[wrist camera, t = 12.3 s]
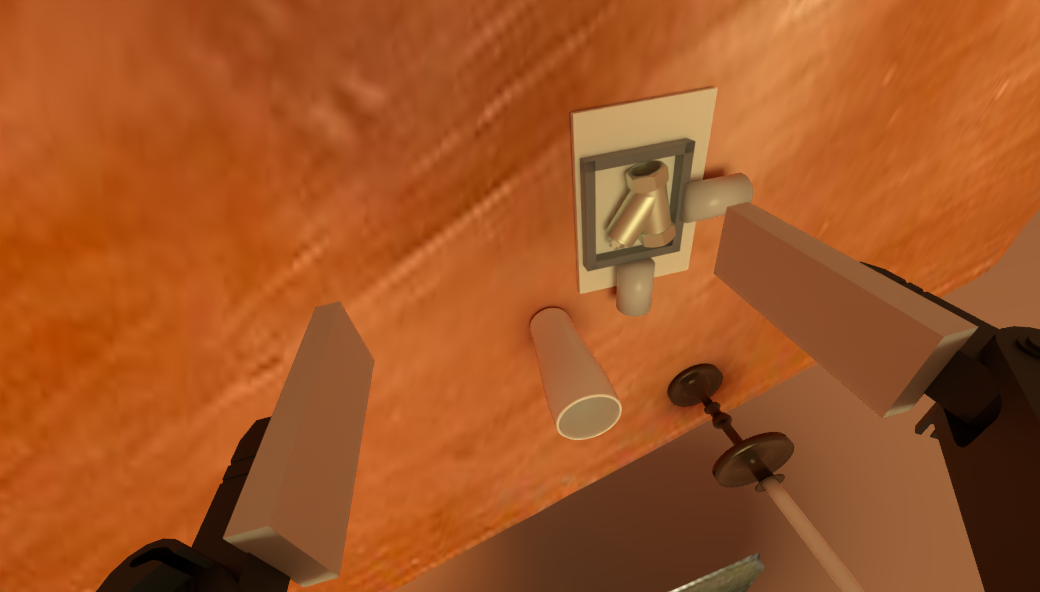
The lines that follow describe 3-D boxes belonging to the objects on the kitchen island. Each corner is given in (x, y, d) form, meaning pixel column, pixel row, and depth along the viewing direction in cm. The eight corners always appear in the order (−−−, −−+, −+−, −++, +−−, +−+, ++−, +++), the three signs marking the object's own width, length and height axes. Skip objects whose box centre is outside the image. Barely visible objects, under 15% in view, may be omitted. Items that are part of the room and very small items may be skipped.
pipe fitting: (606, 246, 42) (663, 224, 41) (617, 264, 39) (680, 240, 38) (589, 182, 37) (654, 156, 37) (601, 196, 34) (672, 168, 34)
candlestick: (691, 411, 65) (889, 691, 37) (649, 397, 61) (839, 707, 32) (736, 369, 61) (1000, 651, 33) (695, 351, 56) (962, 662, 28)
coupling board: (570, 112, 34) (588, 121, 30) (741, 81, 35) (780, 86, 31) (578, 303, 47) (591, 327, 43) (703, 274, 48) (727, 295, 44)
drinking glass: (513, 317, 46) (543, 416, 34) (562, 291, 45) (610, 383, 33) (536, 350, 50) (571, 449, 38) (581, 326, 49) (631, 420, 37)
